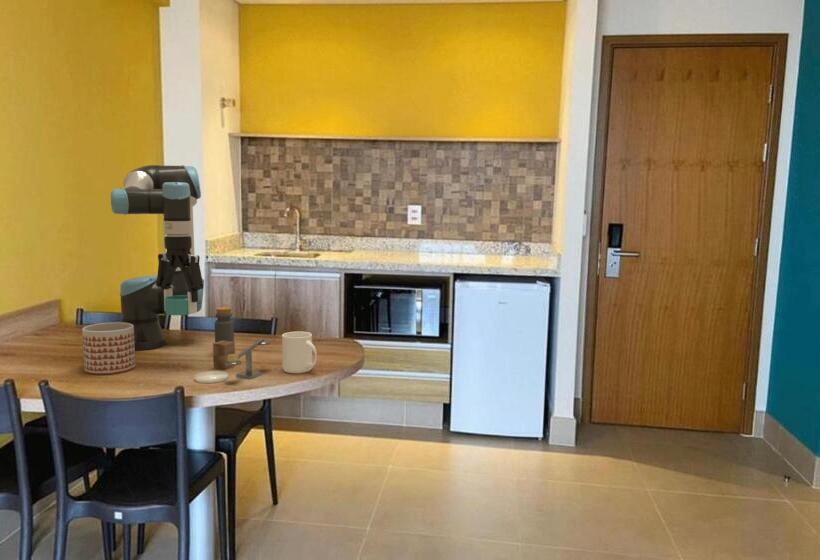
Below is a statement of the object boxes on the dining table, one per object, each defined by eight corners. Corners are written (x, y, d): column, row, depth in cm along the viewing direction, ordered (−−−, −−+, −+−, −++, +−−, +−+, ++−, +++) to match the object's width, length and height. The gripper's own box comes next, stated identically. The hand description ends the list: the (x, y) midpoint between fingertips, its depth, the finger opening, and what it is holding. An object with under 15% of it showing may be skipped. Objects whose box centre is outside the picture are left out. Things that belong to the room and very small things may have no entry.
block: (213, 368, 196) (212, 343, 195) (223, 364, 200) (222, 340, 199) (225, 369, 194) (224, 344, 193) (235, 366, 198) (234, 341, 197)
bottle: (238, 352, 215) (236, 307, 213) (226, 356, 210) (224, 310, 208) (223, 350, 217) (222, 305, 215) (211, 354, 212) (210, 308, 210)
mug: (305, 377, 187) (305, 340, 186) (276, 370, 194) (275, 334, 193) (326, 371, 194) (326, 335, 192) (297, 364, 201) (297, 330, 199)
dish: (187, 380, 183) (187, 377, 182) (209, 372, 191) (209, 369, 191) (213, 384, 179) (213, 381, 179) (234, 376, 187) (234, 373, 187)
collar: (159, 313, 194) (158, 298, 193) (180, 309, 201) (179, 294, 201) (181, 316, 190) (180, 300, 190) (201, 311, 198) (201, 296, 197)
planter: (103, 378, 185) (100, 333, 183) (74, 370, 192) (72, 327, 190) (145, 367, 196) (143, 325, 195) (117, 360, 203) (115, 320, 202)
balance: (221, 382, 181) (220, 349, 180) (261, 367, 197) (260, 336, 196) (235, 385, 179) (234, 351, 178) (275, 369, 195) (274, 338, 194)
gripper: (140, 234, 194) (144, 310, 197) (197, 237, 185) (199, 316, 188) (159, 233, 201) (162, 307, 204) (215, 236, 192) (217, 312, 195)
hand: (180, 311), depth 196 cm, fingers closed on collar, 8 cm apart
